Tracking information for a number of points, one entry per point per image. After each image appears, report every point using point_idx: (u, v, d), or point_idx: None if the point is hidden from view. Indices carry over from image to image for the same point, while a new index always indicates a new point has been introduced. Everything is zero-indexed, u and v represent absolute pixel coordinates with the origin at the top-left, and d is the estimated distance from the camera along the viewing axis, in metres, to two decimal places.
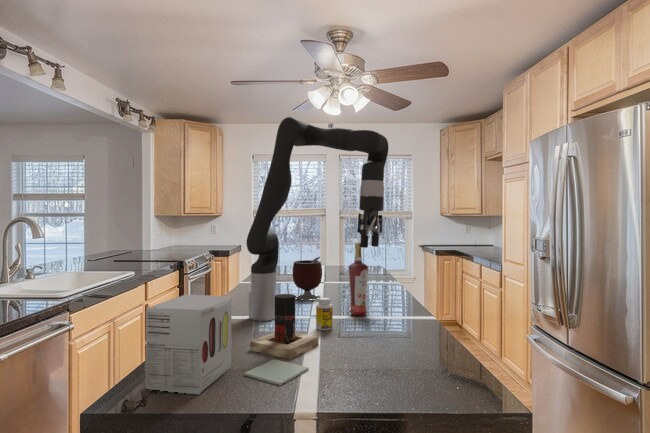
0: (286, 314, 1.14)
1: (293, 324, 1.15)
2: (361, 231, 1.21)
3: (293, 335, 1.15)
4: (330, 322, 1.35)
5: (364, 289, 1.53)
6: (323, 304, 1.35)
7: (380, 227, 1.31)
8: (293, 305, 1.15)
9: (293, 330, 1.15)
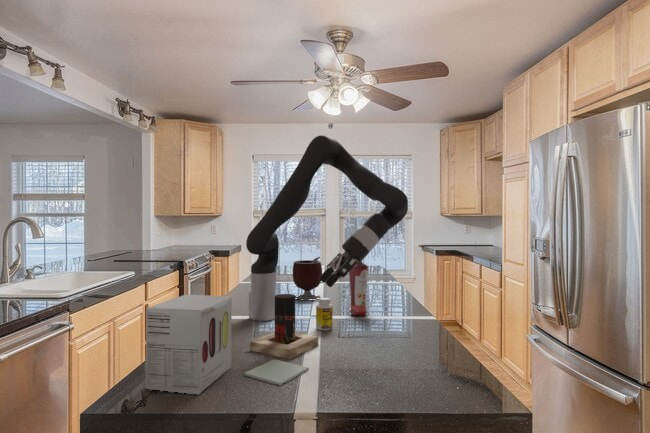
0: (286, 314, 1.14)
1: (293, 324, 1.15)
2: (341, 274, 1.13)
3: (293, 335, 1.15)
4: (330, 322, 1.35)
5: (364, 289, 1.53)
6: (323, 304, 1.35)
7: None
8: (293, 305, 1.15)
9: (293, 330, 1.15)
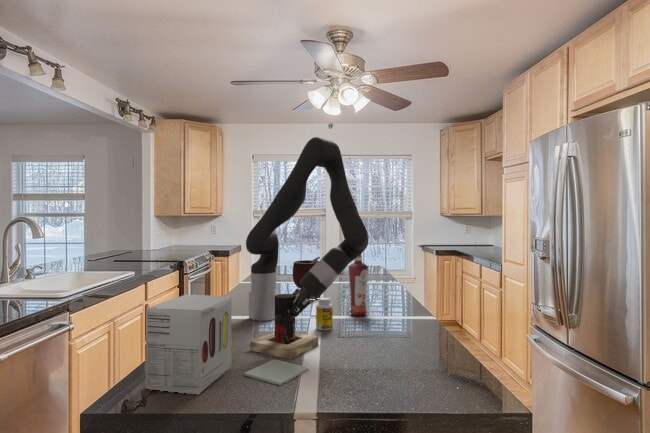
0: None
1: (293, 324, 1.15)
2: (294, 313, 1.11)
3: (293, 335, 1.15)
4: (330, 322, 1.35)
5: (364, 289, 1.53)
6: (323, 304, 1.35)
7: None
8: None
9: (293, 330, 1.15)
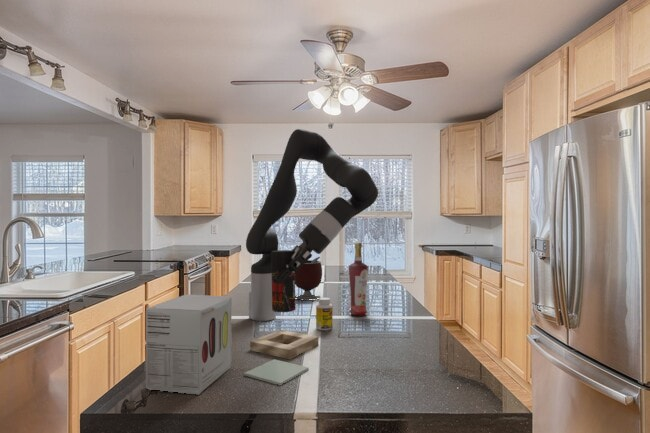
0: None
1: (293, 282, 1.02)
2: (293, 268, 0.98)
3: (293, 295, 1.02)
4: (330, 322, 1.35)
5: (364, 289, 1.53)
6: (323, 304, 1.35)
7: None
8: None
9: (293, 289, 1.02)
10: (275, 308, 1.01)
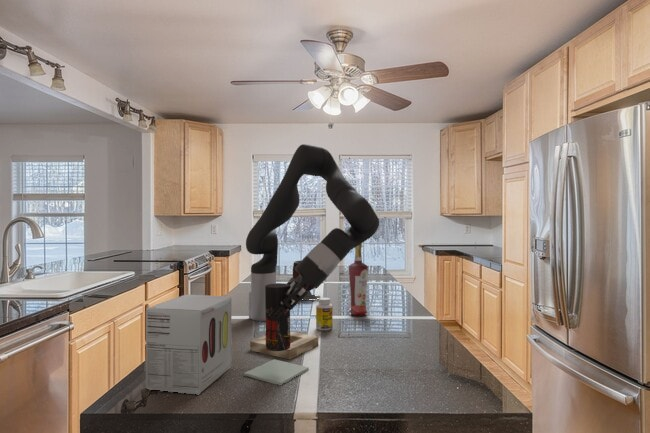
0: None
1: (287, 319, 0.97)
2: (287, 306, 0.92)
3: (288, 332, 0.97)
4: (330, 322, 1.35)
5: (364, 289, 1.53)
6: (323, 304, 1.35)
7: None
8: None
9: (288, 327, 0.97)
10: (268, 346, 0.96)
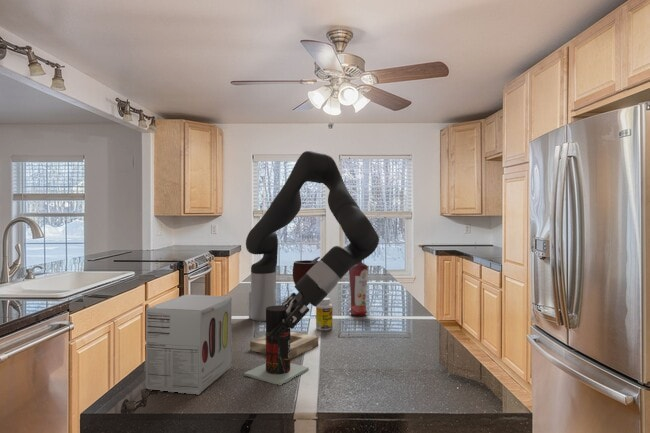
0: None
1: (288, 342, 0.97)
2: (289, 324, 0.92)
3: (288, 355, 0.97)
4: (330, 322, 1.35)
5: (364, 289, 1.53)
6: (323, 304, 1.35)
7: None
8: None
9: (288, 349, 0.97)
10: (268, 369, 0.96)
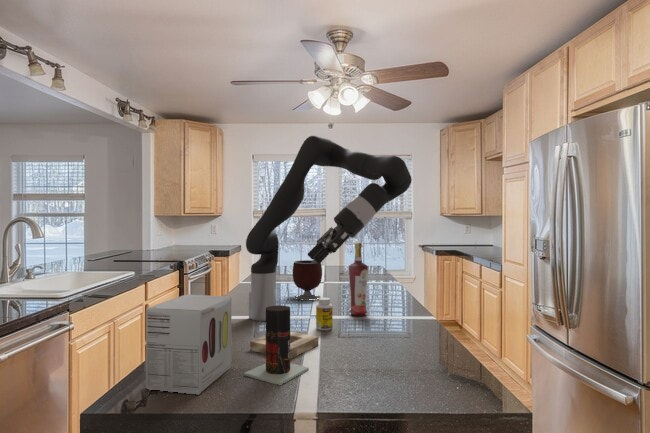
0: (279, 330, 0.95)
1: (288, 342, 0.97)
2: (332, 248, 1.00)
3: (288, 355, 0.97)
4: (330, 322, 1.35)
5: (364, 289, 1.53)
6: (323, 304, 1.35)
7: None
8: (288, 319, 0.97)
9: (288, 349, 0.97)
10: (268, 369, 0.96)
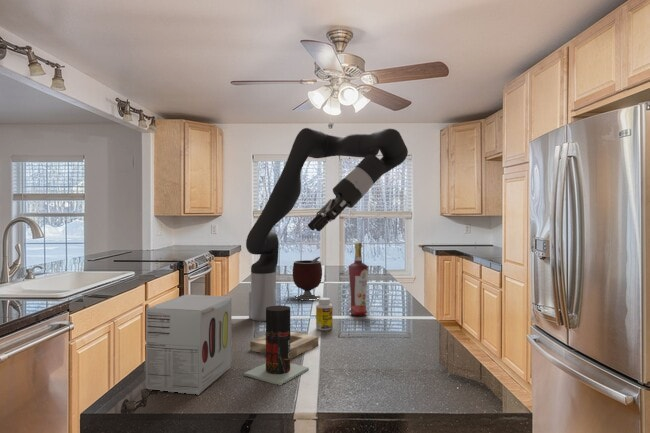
0: (280, 330, 0.95)
1: (288, 342, 0.97)
2: (331, 216, 1.03)
3: (288, 355, 0.97)
4: (330, 322, 1.35)
5: (364, 289, 1.53)
6: (323, 304, 1.35)
7: None
8: (288, 319, 0.97)
9: (288, 349, 0.97)
10: (268, 369, 0.96)
